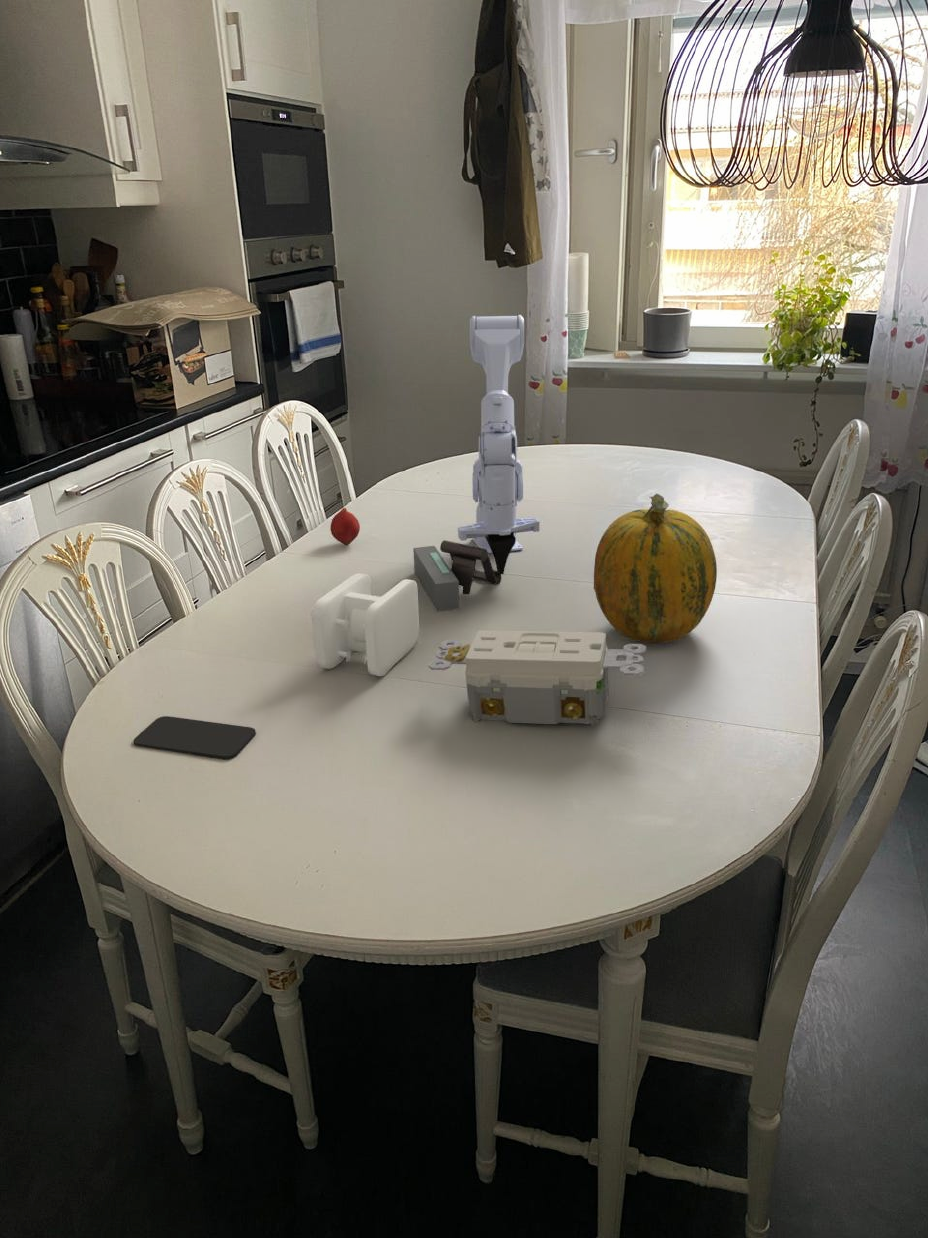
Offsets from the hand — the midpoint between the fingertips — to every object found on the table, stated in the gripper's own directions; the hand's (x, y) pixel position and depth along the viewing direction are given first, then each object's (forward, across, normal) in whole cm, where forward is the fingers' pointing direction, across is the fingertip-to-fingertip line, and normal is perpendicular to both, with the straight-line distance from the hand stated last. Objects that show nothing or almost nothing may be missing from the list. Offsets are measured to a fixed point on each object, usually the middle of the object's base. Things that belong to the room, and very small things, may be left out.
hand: (499, 572), depth 171 cm
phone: (+2, -54, -39) cm, 67 cm away
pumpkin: (+2, +17, -27) cm, 32 cm away
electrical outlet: (+2, -8, -44) cm, 45 cm away
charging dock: (+2, -12, 0) cm, 12 cm away
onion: (+2, -24, +28) cm, 37 cm away
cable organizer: (+2, -28, -23) cm, 36 cm away
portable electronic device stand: (+2, -6, 0) cm, 6 cm away
